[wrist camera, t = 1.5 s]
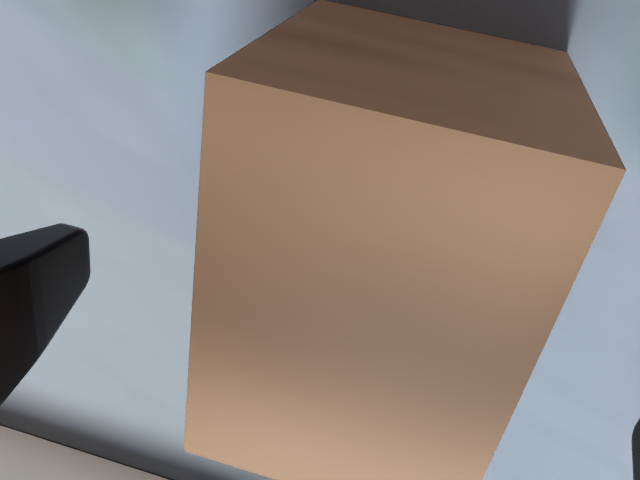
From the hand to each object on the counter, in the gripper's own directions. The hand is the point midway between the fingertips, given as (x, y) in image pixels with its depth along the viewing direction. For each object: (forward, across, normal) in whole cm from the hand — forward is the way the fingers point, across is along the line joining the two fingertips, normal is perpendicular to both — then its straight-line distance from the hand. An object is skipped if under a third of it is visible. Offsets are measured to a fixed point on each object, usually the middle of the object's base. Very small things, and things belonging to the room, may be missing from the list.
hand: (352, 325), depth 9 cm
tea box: (+6, 0, 0) cm, 6 cm away
